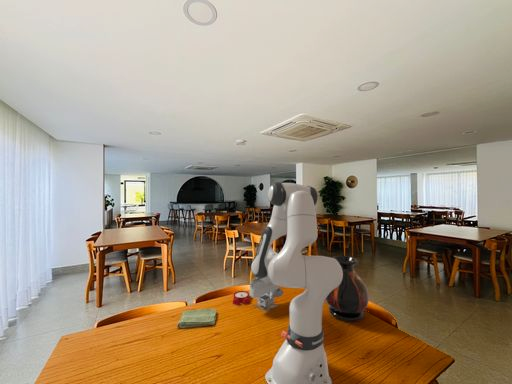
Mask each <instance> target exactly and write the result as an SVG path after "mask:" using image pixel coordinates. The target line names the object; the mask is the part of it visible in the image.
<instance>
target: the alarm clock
mask: <svg viewBox="0 0 512 384" xmlns="http://www.w3.org/2000/svg"><path fill="white" fill-rule="evenodd" d="M250 301H251V300H250V295H249V292H248V290H246V291H245V290H239V291H235V292H234V293H233V298H232V304H233V305H237V306H246V305H248V304H250Z"/></svg>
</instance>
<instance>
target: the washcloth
mask: <svg viewBox="0 0 512 384" xmlns="http://www.w3.org/2000/svg"><path fill="white" fill-rule="evenodd" d="M217 311H218V310H217V309H215V308H202V309H188V310H185V311H182V313H181V315H180V319H179V321H178V322H177V328H178V329H190V328H197V327H207V326H214V325H215V323H216V319H217Z"/></svg>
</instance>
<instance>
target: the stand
mask: <svg viewBox="0 0 512 384" xmlns="http://www.w3.org/2000/svg"><path fill="white" fill-rule="evenodd" d="M253 306H254V307H255V308H257V309H259V310H261V311H262V312H264V313H267V312H269V311H271V310H273V309H275V308H277V307H279V305H278V304H276V303H275V302H274V303H273V304H271V305H269V306H267V307H264V306H262V305H260V304H258V303H255V304H253Z"/></svg>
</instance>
